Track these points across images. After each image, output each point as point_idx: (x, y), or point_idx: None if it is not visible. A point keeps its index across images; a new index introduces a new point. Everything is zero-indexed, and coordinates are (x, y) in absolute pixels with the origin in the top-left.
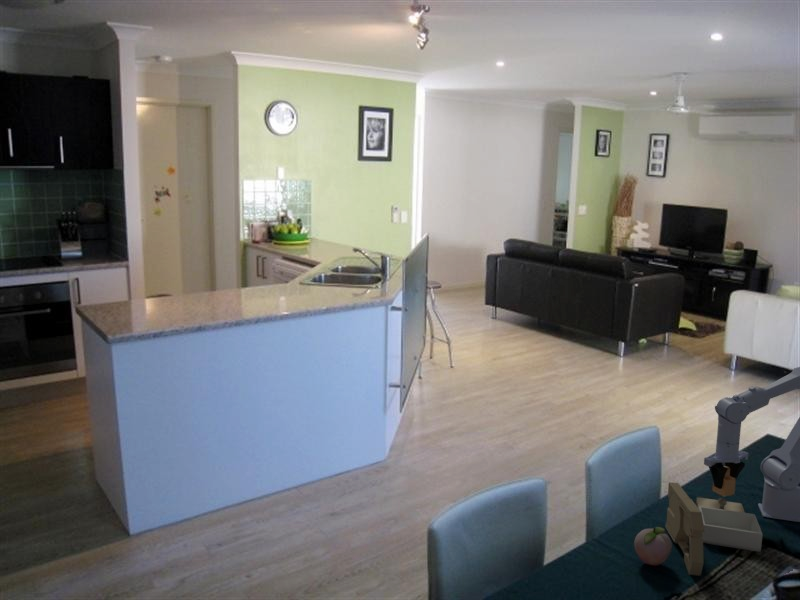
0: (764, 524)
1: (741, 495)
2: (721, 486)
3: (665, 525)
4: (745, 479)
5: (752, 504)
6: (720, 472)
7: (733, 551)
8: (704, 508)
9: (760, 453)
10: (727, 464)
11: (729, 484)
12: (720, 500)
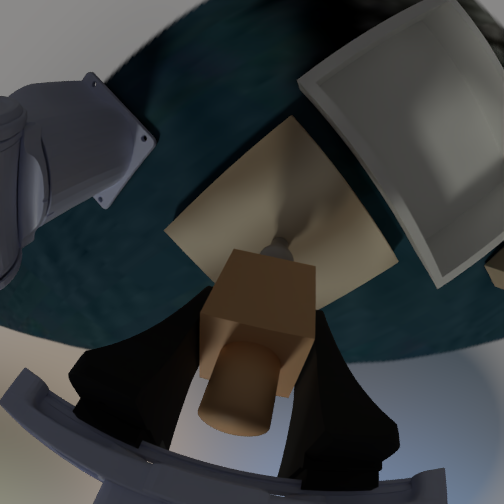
0: (202, 102)
1: (110, 267)
2: (317, 317)
3: (499, 287)
4: (60, 298)
5: (119, 218)
6: (382, 414)
7: None
8: (436, 265)
9: (10, 316)
10: (173, 421)
11: (269, 302)
12: None
